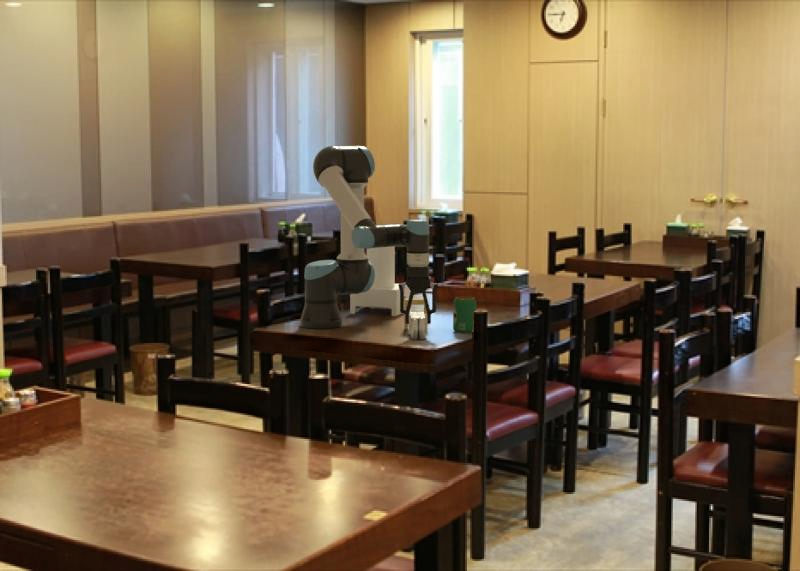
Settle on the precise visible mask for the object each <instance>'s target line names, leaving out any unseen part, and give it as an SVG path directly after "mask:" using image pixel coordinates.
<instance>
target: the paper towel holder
mask: <svg viewBox="0 0 800 571" xmlns="http://www.w3.org/2000/svg"><path fill="white" fill-rule="evenodd" d="M395 247H396V246H395ZM395 247H379V248H369V249H366V256H367V257H368V261H369V262H370V263H372V265H373V268H374V270H375V279H374V283H373V285H372V287H371V288H370V289H369V290H368V291H367V292H364V293H359V294H349V296H350V297H349V299H350V302H349V305H350V307H349V308H350V310H349V311H350V315H355V314H356V312H357V307H360V310H362V309H364V308H390V309H391V316H392V317H397V316H399V315H401V314H402V313H401V312H400V289H399V286H398V285H399V284H400V283H395V282H396V280H395V276H396V275H395V274H396V273H395V272H396V268H395V264H396V260H395V259H396V255H395V253H396V252H395V251H396V250H395ZM409 295H410V289H409V288H408V287H407V285H406V286H405V289H404V299H409ZM410 310H412V308H410Z"/></svg>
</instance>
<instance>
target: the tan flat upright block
mask: <svg viewBox="0 0 800 571" xmlns="http://www.w3.org/2000/svg"><path fill="white" fill-rule="evenodd" d="M407 303H408V299H404V310H406V307H407ZM412 305H414V306H415V305H416V306H420V305H421V306H423V311H424V315H425V314H427V311H426V307H425V303H424V299H423V298H413V300H412V304H411V306H412ZM403 317H404V318H403V329H404V330H409V324H406V323H405V314H403Z"/></svg>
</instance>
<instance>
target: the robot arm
mask: <svg viewBox="0 0 800 571" xmlns="http://www.w3.org/2000/svg"><path fill="white" fill-rule="evenodd" d="M312 167H313V168H312V169H313V170H312V171H313V175H314V177H315V179H316V181H317V183H318V184H319V185H320V186H321V187H323V188H325V190H326V191H327V193H328V194H329V195H330V197H331V199H332V200H333V202H334V204H335V205H336V207H337V208H338V210H339V211H340V253H339V254H338V255H337V257H336V260H334V259H324V260H321V259H320V260H317V261H312V262H310V263H307V264H306V266H305V267H304V307H303V309H302V313H301V316H300V322H299V323H300V324H299V326H300V327H302V328H306V329H316V330H317V329H319V330H320V329H334V328H339V327H342V326H343V319H342V315H341V313H340V312H341V311H340V309H339V306H338V296H343V295H344V296H346V295H350V294H359V293H364V292H367V291H368V290H369V289H370V288H371V287H372V285H373V283H374V279H375V270H374V268H373V265H372V263H370V262H369V261H368V257H367V254H366V253H365V250H367V249H369V248H379V247H403V248H406V265H407V267H406V280H405V282H402V283H398V284H399V285H398V286H399V289H400V312H401V314H403V315H404V314H405V323H406V324H408V335H410V334H411V314H409V312H410V310H411V309H412V308H411V307H412V305H411V304H412V300H413V299H414V294H417V293H419V294H422V299H424V303H425V307H426V311H427V314H425V318H426V335H428V325H430V324H431V322H432V320H431V318H432V314H435V313H436V312H437V290H438V287H439V286H438V284H437V282H435V283H434V282H433V281H432V282H431V280H430V266H429V264H430V223H429V221H428V220H427V219H408V220H407V221H406V224H401V223H390V224H385V225H383V224H382V225H381V224H380V225H377V224H376V222H374V221H373V219H372V218H371V216H370V215H369V213H368V212H367V210H366V209H365V187H366V186H367V185H368V184H369V179H370V178H371V177H373V175H374V172H375V170H376V164H375V158H374V156H373V154H372V152H371V151H370V149H368V148H367V147H366V146H362V145H330V146H326V147H323V148H322V149H320V150H319V151H318V153H317V154H316V156H315V157H314V160H313V165H312ZM406 285H407V287H408V288H409V289H410V295H409V299H408V303H407V307H406V310H404V289H405V286H406ZM429 286H430V289H431V309H430V304H429V300H428V297H427V296H428V295H427V289H428V288H429ZM410 308H411V309H410Z"/></svg>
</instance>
